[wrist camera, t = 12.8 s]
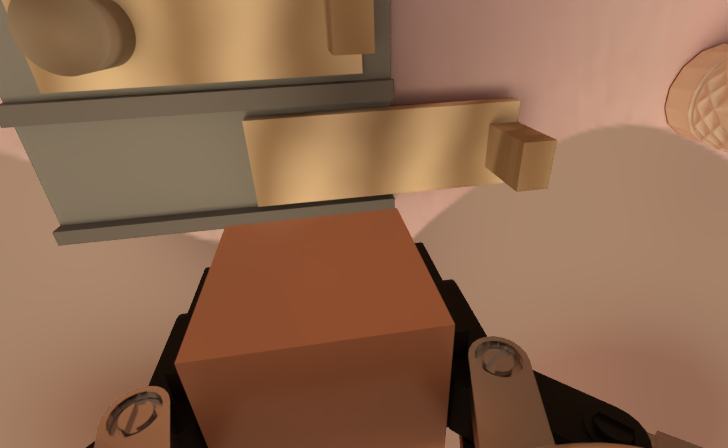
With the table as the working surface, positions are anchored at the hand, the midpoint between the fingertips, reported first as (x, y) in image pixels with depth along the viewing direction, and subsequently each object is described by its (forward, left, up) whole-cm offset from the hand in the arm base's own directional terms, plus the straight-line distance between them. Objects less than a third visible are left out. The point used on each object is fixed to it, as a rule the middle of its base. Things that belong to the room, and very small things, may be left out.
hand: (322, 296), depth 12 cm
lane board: (+6, -4, -17) cm, 19 cm away
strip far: (-5, +1, -16) cm, 17 cm away
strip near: (+5, -8, -16) cm, 19 cm away
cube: (0, 0, -1) cm, 1 cm away
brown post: (+10, -8, -15) cm, 20 cm away
